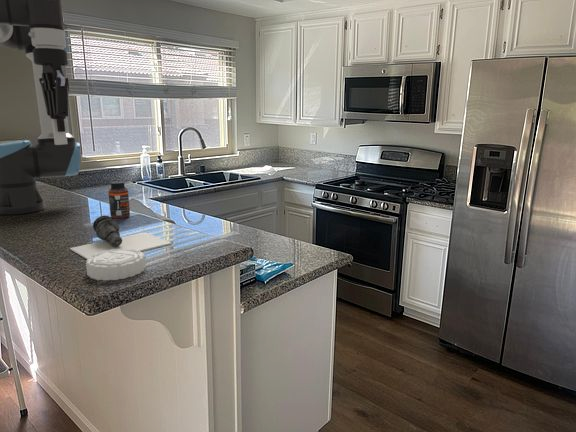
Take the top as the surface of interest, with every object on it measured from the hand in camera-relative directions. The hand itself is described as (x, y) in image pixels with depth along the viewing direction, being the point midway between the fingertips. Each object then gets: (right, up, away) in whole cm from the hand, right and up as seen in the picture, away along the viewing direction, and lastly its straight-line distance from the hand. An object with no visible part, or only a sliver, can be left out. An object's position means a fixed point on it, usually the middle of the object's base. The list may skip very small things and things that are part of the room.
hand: (61, 144), depth 116 cm
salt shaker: (+10, -21, +2) cm, 23 cm away
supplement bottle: (+5, -19, +27) cm, 34 cm away
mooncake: (+22, -31, -20) cm, 43 cm away
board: (+17, -27, -4) cm, 32 cm away
